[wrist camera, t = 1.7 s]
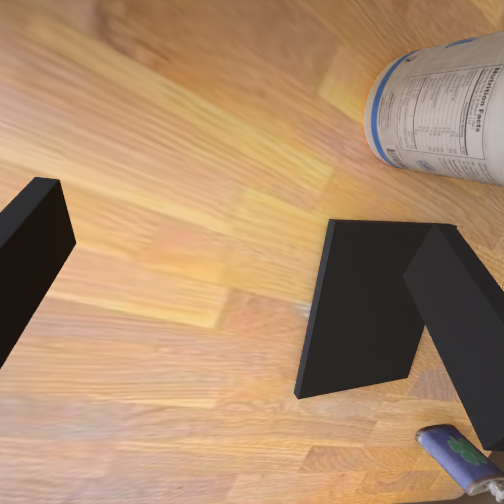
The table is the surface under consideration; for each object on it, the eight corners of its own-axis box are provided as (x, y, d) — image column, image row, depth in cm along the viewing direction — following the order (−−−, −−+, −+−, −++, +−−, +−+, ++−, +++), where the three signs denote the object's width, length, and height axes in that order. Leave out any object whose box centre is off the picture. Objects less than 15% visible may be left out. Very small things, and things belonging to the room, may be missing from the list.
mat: (329, 219, 32) (335, 221, 31) (449, 223, 38) (457, 226, 37) (293, 393, 38) (297, 399, 37) (401, 372, 44) (407, 378, 43)
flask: (411, 440, 51) (479, 512, 42) (420, 424, 50) (491, 494, 41) (449, 437, 55) (519, 502, 46) (458, 423, 54) (530, 485, 45)
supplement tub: (450, 50, 30) (700, -1, 17) (436, 159, 34) (634, 184, 21) (359, 55, 27) (578, -2, 14) (355, 174, 31) (527, 212, 18)
